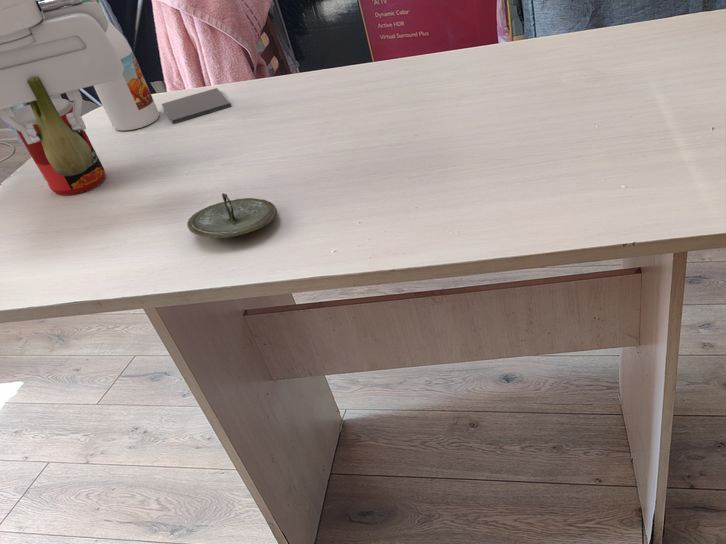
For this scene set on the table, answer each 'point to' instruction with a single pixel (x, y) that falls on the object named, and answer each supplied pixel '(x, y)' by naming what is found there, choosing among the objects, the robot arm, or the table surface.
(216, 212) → the lid
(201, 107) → the coaster
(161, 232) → the table surface
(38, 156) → the canned food
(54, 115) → the fennel bulb
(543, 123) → the table surface
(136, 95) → the milk bottle
